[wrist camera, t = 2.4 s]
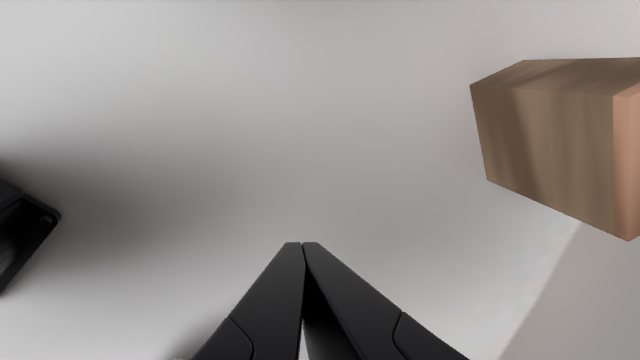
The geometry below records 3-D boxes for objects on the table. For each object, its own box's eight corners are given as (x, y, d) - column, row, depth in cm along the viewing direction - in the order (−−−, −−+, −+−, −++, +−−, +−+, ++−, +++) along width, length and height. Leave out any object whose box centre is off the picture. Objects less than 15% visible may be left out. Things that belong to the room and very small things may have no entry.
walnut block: (487, 179, 23) (628, 241, 15) (469, 85, 20) (629, 97, 12) (534, 156, 24) (696, 203, 15) (522, 60, 21) (713, 55, 13)
